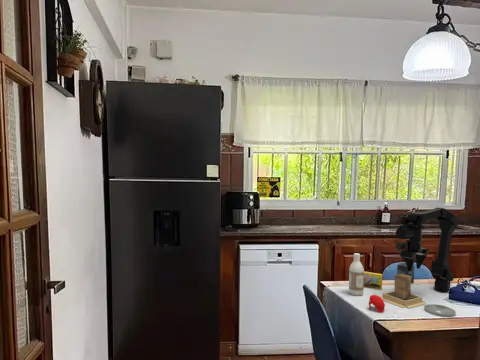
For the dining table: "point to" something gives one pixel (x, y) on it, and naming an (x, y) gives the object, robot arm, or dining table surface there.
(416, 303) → the wooden square frame
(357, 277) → the bath foam
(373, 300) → the red rounded piece
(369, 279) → the candy box
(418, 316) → the dining table surface
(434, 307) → the plate
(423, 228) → the robot arm
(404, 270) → the box
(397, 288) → the walnut box
